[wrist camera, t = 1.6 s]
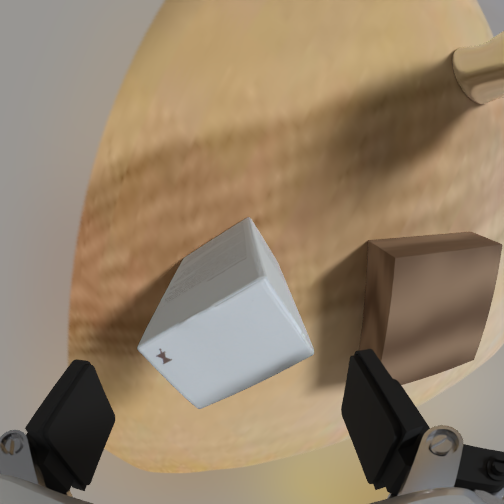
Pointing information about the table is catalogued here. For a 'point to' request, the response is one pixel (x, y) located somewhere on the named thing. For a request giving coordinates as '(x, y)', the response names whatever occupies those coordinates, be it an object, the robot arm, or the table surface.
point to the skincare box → (225, 320)
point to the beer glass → (481, 70)
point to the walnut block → (428, 301)
